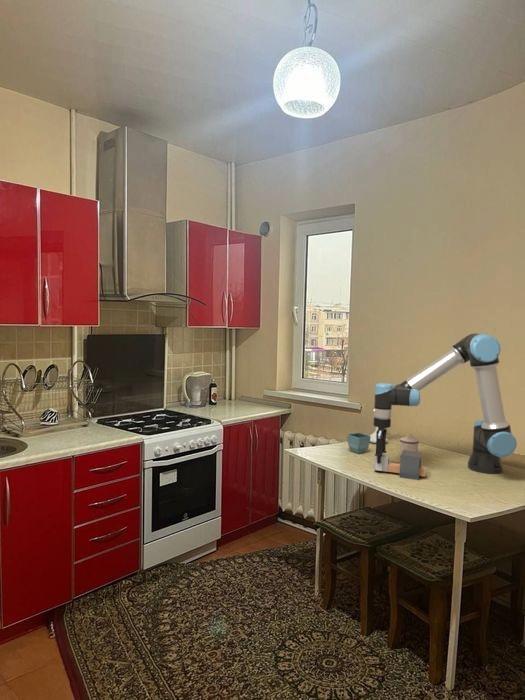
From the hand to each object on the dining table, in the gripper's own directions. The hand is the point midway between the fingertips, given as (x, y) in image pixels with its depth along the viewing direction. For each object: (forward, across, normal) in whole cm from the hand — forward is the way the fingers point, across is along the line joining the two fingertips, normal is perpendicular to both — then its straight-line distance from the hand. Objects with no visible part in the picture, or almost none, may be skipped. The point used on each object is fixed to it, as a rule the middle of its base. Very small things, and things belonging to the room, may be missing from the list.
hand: (379, 468), depth 228 cm
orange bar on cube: (0, 0, +9) cm, 9 cm away
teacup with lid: (+2, -32, +8) cm, 33 cm away
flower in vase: (+2, -54, -9) cm, 55 cm away
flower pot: (+2, -28, -16) cm, 32 cm away
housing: (+1, 0, +13) cm, 13 cm away
